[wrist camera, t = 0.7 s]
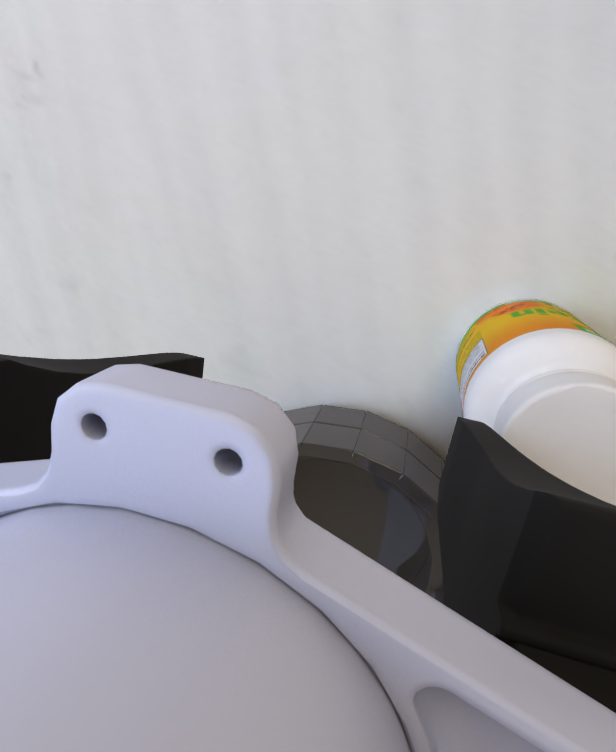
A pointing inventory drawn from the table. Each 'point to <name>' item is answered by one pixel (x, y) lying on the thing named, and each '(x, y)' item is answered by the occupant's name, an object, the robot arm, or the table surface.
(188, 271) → the table surface
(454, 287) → the table surface
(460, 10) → the table surface
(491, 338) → the supplement bottle
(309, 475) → the bowl
